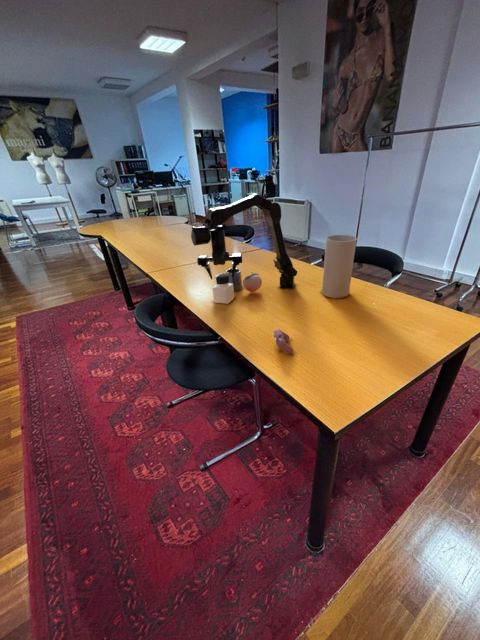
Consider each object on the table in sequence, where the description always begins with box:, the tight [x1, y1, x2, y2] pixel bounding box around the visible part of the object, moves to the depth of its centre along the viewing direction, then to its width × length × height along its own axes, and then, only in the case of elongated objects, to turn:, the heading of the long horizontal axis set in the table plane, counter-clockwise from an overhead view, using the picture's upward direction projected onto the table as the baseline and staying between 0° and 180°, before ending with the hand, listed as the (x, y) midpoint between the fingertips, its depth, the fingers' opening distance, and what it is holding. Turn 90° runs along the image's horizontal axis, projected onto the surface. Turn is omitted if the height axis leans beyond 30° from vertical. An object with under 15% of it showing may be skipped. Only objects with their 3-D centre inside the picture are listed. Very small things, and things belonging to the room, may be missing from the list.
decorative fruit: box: [242, 272, 263, 293], centre depth 140 cm, size 9×8×10 cm
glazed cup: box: [225, 268, 243, 292], centre depth 145 cm, size 7×7×9 cm
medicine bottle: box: [212, 273, 235, 305], centre depth 132 cm, size 7×7×12 cm
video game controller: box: [272, 329, 294, 355], centre depth 99 cm, size 10×5×7 cm, turn 5°
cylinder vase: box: [321, 234, 358, 299], centre depth 132 cm, size 12×12×25 cm
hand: (222, 278), depth 130 cm, fingers open, 9 cm apart
